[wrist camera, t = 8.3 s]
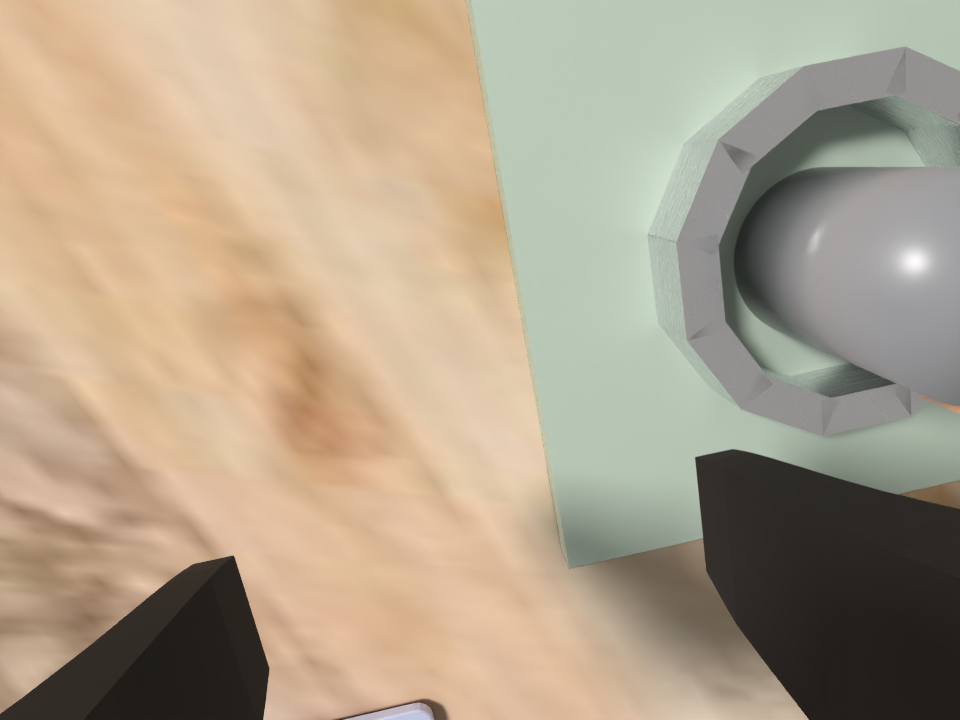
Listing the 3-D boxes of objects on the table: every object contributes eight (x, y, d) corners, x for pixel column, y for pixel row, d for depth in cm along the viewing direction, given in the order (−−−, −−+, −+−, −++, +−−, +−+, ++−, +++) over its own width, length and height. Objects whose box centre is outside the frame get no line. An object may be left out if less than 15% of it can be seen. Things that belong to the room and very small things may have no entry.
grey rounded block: (891, 151, 18) (1117, 144, 12) (896, 326, 19) (1101, 393, 14) (726, 185, 18) (877, 195, 12) (742, 360, 19) (884, 443, 14)
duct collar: (970, 369, 20) (1030, 390, 18) (671, 434, 20) (700, 463, 18) (973, 36, 18) (1043, 19, 16) (631, 102, 17) (660, 93, 15)
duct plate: (1047, 441, 22) (1077, 453, 21) (561, 551, 21) (569, 568, 20) (1073, -127, 18) (1111, -145, 17) (463, -17, 17) (466, -28, 16)
